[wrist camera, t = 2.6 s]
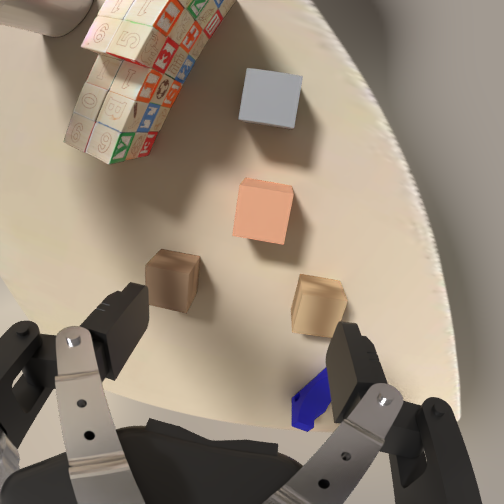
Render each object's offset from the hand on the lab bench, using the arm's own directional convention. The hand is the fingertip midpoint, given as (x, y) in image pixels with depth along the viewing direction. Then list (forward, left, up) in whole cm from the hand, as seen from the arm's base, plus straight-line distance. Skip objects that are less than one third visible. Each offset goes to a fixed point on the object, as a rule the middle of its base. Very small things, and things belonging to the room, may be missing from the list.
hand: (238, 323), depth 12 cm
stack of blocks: (-13, +15, -22) cm, 30 cm away
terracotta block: (0, 0, -22) cm, 22 cm away
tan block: (-9, -10, -22) cm, 26 cm away
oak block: (+8, -10, -22) cm, 26 cm away
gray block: (-1, +11, -22) cm, 25 cm away
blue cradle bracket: (+14, -25, -22) cm, 36 cm away
